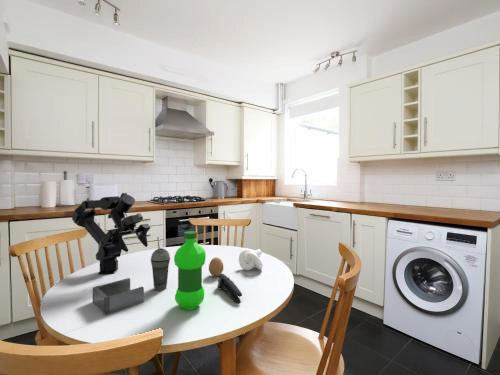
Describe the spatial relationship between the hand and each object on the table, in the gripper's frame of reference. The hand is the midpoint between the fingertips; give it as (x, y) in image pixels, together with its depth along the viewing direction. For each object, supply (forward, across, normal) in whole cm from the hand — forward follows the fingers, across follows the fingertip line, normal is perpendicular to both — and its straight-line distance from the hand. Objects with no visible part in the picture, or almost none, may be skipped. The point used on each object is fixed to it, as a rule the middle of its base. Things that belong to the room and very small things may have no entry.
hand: (137, 248), depth 108 cm
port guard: (+17, -15, +2) cm, 22 cm away
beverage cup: (+19, 0, 0) cm, 19 cm away
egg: (+27, +22, -8) cm, 35 cm away
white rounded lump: (+33, +40, -14) cm, 53 cm away
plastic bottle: (+33, -4, -14) cm, 36 cm away
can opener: (+38, +11, -18) cm, 43 cm away
